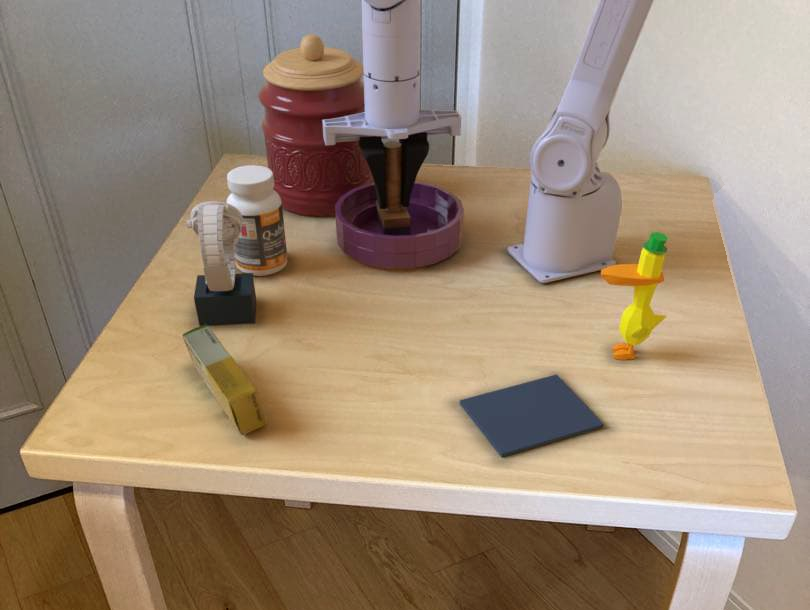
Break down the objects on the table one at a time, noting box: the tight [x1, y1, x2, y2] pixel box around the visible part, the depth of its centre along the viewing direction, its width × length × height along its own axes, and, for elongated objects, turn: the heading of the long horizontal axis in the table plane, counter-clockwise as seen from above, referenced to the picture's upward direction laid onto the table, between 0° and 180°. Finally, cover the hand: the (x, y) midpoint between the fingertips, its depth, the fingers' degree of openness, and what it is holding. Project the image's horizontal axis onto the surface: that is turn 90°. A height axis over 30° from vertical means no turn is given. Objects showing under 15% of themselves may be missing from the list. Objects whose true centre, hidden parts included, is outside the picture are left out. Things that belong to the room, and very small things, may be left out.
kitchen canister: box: [257, 33, 374, 217], centre depth 98 cm, size 13×13×18 cm
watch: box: [186, 200, 257, 327], centre depth 81 cm, size 6×8×11 cm
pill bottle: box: [225, 164, 288, 277], centre depth 88 cm, size 6×6×10 cm
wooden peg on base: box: [377, 140, 410, 236], centre depth 93 cm, size 3×5×10 cm, turn 11°
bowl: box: [334, 180, 465, 270], centre depth 94 cm, size 14×14×4 cm
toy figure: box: [600, 231, 669, 361], centre depth 76 cm, size 7×4×12 cm, turn 87°
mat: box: [459, 373, 605, 458], centre depth 74 cm, size 10×8×1 cm
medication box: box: [182, 324, 268, 436], centre depth 74 cm, size 12×3×4 cm, turn 29°
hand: (392, 204), depth 94 cm, fingers closed on wooden peg on base, 2 cm apart
